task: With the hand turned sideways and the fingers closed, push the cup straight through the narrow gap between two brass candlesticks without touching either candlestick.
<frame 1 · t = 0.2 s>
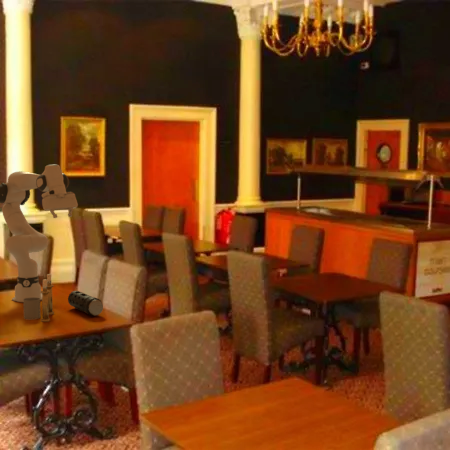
hand: (63, 217, 381), 52 cm above the table, tool tilted 20°, fingers open, 8 cm apart
candlestick outer: (45, 320, 361), on the table
cup: (32, 318, 368), on the table
candlestick inner: (49, 313, 377), on the table
muzzle brake: (85, 313, 380), on the table
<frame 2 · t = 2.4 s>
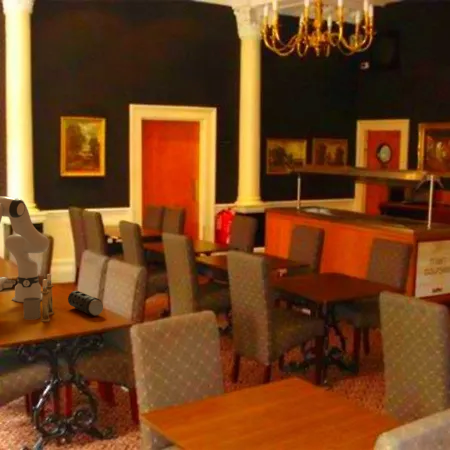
hand: (13, 283, 365), 18 cm above the table, tool horizontal, fingers open, 7 cm apart
nothing on the table moved.
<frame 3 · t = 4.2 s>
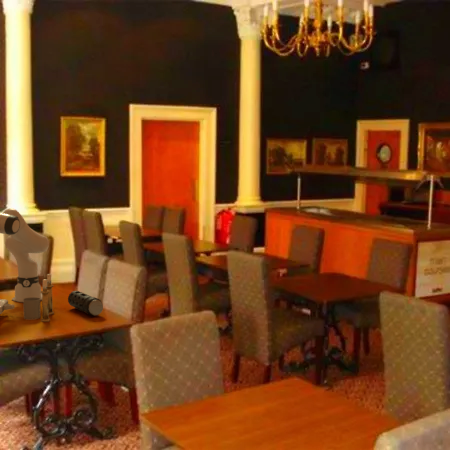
hand: (14, 306, 366), 6 cm above the table, tool horizontal, fingers closed
nothing on the table moved.
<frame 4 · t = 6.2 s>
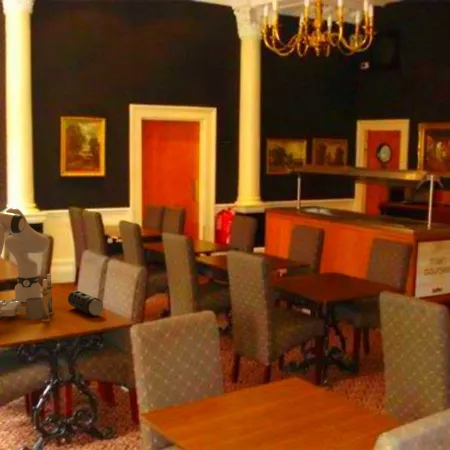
hand: (26, 308, 368), 5 cm above the table, tool horizontal, fingers closed, pressing on cup
cup: (34, 317, 368), on the table, touching gripper
everything else where it was.
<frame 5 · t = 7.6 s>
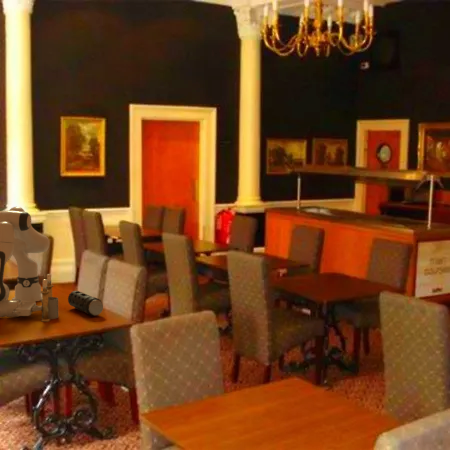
hand: (42, 308, 368), 5 cm above the table, tool horizontal, fingers closed, pressing on cup
cup: (50, 317, 369), on the table, touching gripper
everything else where it was.
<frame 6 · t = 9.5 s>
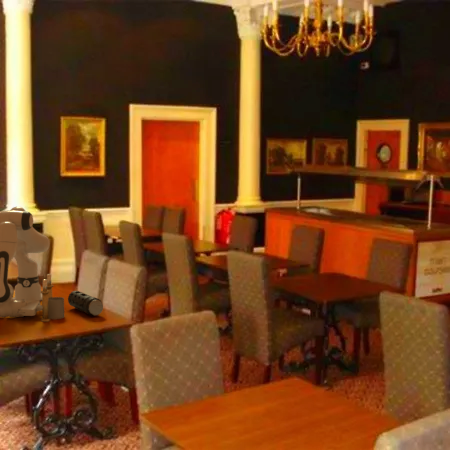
hand: (46, 307, 369), 5 cm above the table, tool horizontal, fingers closed
cup: (56, 317, 370), on the table
everything else where it was.
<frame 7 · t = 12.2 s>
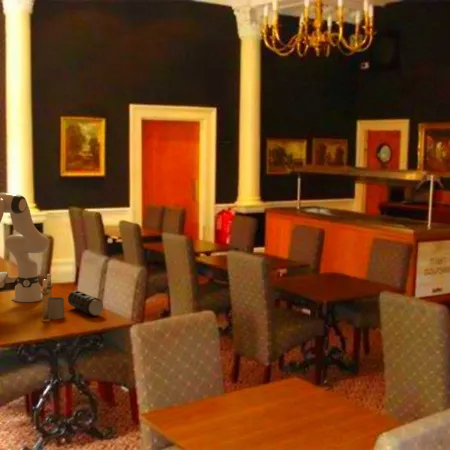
hand: (14, 280, 367), 20 cm above the table, tool horizontal, fingers closed
nothing on the table moved.
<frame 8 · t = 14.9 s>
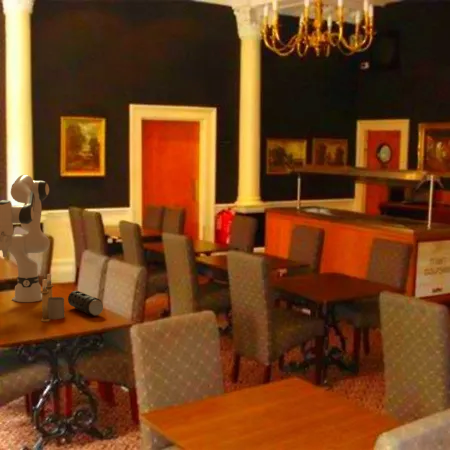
hand: (5, 256, 373), 31 cm above the table, tool pointing down, fingers closed
nothing on the table moved.
at the end: cup inside the target area (2.1 cm from its centre), on the table; candlestick inner moved 0.0 cm from its start; candlestick outer moved 0.0 cm from its start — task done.
